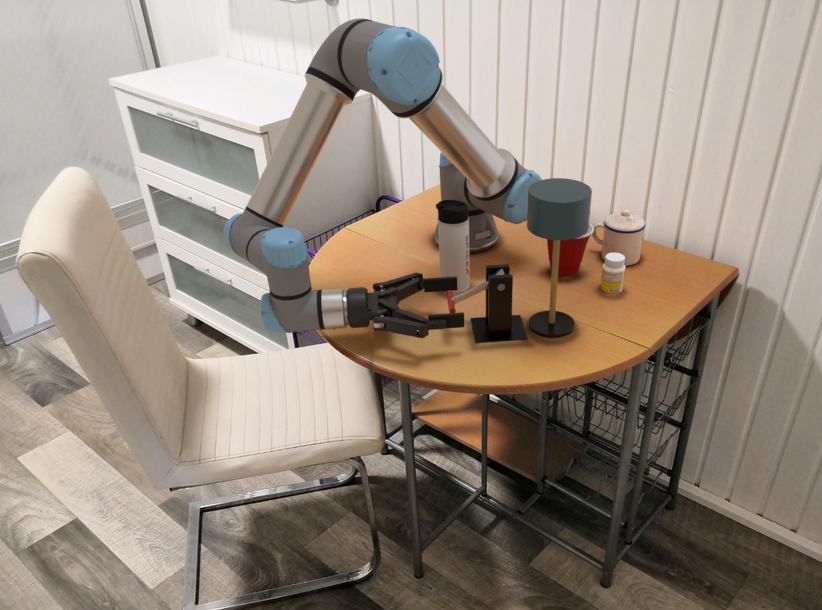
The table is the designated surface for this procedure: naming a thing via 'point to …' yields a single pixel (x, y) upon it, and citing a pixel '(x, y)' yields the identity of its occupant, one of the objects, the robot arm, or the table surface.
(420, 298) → the table surface
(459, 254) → the travel mug
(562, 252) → the plastic cup
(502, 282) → the switch base
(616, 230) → the lidded enamel mug
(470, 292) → the switch lever
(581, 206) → the desk lamp
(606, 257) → the supplement bottle
